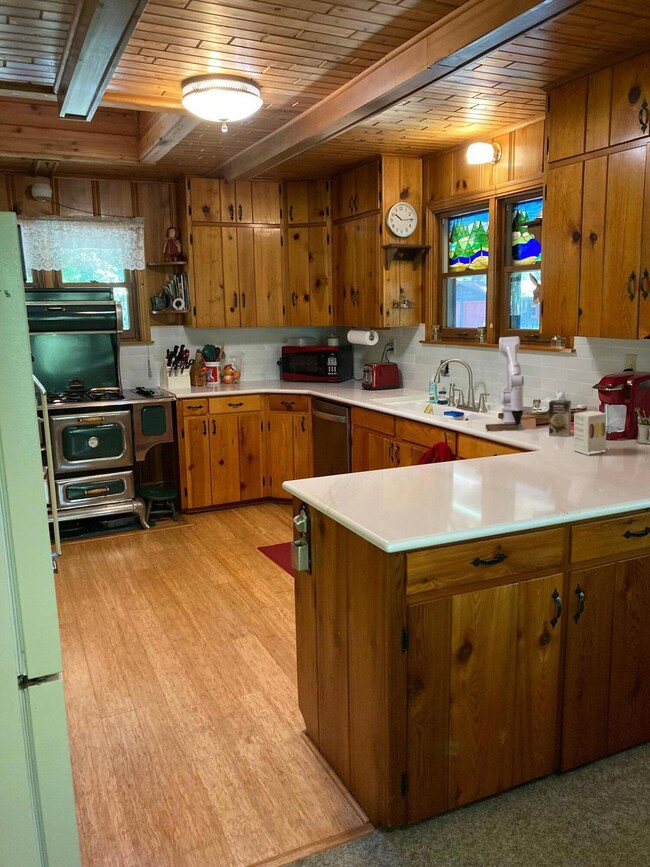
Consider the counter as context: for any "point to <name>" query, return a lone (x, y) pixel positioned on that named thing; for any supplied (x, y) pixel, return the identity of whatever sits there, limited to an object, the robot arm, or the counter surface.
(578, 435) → the supplement box
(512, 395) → the robot arm
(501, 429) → the walnut chute
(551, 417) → the grey rectangular box
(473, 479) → the counter surface
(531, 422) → the block
